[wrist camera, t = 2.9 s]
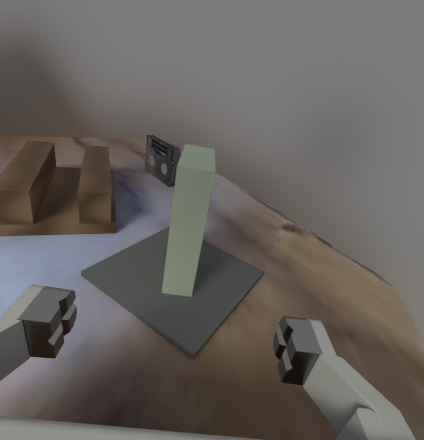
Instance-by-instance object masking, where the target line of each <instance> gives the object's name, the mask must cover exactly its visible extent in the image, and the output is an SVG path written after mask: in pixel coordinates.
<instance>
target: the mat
mask: <svg viewBox="0 0 424 440" xmlns="http://www.w3.org/2000/svg"><path fill="white" fill-rule="evenodd" d="M169 229H170V227H168V228H166V229H164V230H162V231H160V232H158V233H156V234H154V235H152V236H150V237H148V238H146V239H144V240H142V241H140V242H138V243H136V244H134V245H132V246H130V247H128V248H126V249H124V250H122V251H120V252H118V253H116V254H114V255H113V256H111V257H109V258H107V259H105V260H103V261H101V262H99V263H97V264H95V265H93V266H91V267H89V268H87V269H85V270H83V271H81V275H82V276H83V277H84V278H86V279H87V280H88V281H90V282H91V283H92V284H94V285H95V286H96V287H98V288H99V289H100V290H102V291H103V292H104V293H106V294H107V295H108V296H110V297H111V298H112V299H114V300H115V301H116V302H118V303H119V304H120V305H122V306H123V307H124V308H126V309H127V310H128V311H130V312H131V313H132V314H134V315H135V316H137V317H138V318H139V319H141V320H142V321H143V322H145V323H146V324H147V325H149V326H150V327H151V328H153V329H154V330H155V331H157V332H158V333H159V334H161V335H162V336H163V337H165V338H166V339H167V340H169V341H170V342H171V343H173V344H174V345H175V346H177V347H178V348H179V349H181V350H182V351H183V352H185V353H186V354H187V355H189V356H190V357H191V358H194V357H195V356H196V355H197V354H198V352H199V351H200V350H201V349H202V348H203V346H204V345H205V344H206V343H207V342H208V340H209V339H210V338H211V337H212V336H213V334H214V333H215V332H216V331H217V330H218V328H219V327H220V326H221V325H222V324H223V322H224V321H225V320H226V319H227V318H228V316H229V315H230V314H231V313H232V312H233V310H234V309H235V308H236V307H237V306H238V304H239V303H240V302H241V301H242V300H243V298H244V297H245V296H246V295H247V294H248V292H249V291H250V290H251V289H252V288H253V286H254V285H255V284H256V283H257V282H258V280H259V279H260V278H261V277H262V276H263V274H264V272H263V271H261V270H259V269H257V268H255V267H253V266H251V265H249V264H248V263H246V262H244V261H242V260H240V259H238V258H236V257H234V256H232V255H230V254H228V253H226V252H224V251H222V250H220V249H219V248H217V247H215V246H213V245H211V244H209V243H207V242H205V241H203V240H202V245H201V250H200V256H199V261H198V266H197V271H196V277H195V282H194V287H193V292H192V297H189V296H181V295H174V294H166V293H162V287H163V278H164V270H165V262H166V254H167V245H168V237H169Z"/></svg>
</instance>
